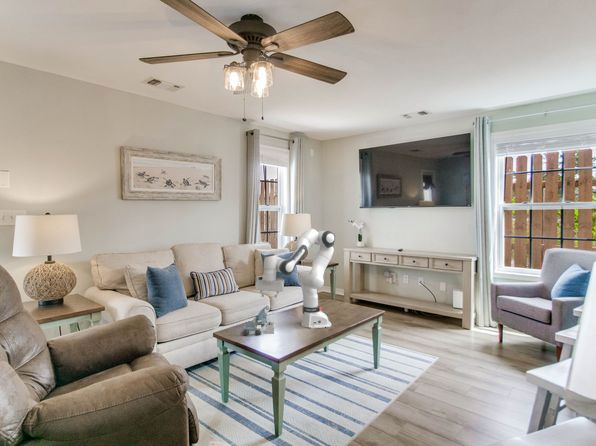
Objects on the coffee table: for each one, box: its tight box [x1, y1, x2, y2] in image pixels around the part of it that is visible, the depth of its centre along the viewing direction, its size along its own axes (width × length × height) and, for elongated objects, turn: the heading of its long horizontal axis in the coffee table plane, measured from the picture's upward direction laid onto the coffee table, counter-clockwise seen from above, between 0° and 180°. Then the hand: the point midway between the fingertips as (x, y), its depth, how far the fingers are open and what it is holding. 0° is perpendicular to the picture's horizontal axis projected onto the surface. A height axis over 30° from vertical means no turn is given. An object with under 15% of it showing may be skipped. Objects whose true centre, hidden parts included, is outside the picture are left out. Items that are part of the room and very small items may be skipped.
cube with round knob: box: [265, 321, 275, 335], centre depth 231 cm, size 5×5×7 cm
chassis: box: [242, 324, 263, 337], centre depth 230 cm, size 12×11×4 cm
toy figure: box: [252, 305, 270, 327], centre depth 246 cm, size 17×10×15 cm, turn 168°
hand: (269, 297), depth 233 cm, fingers open, 8 cm apart
